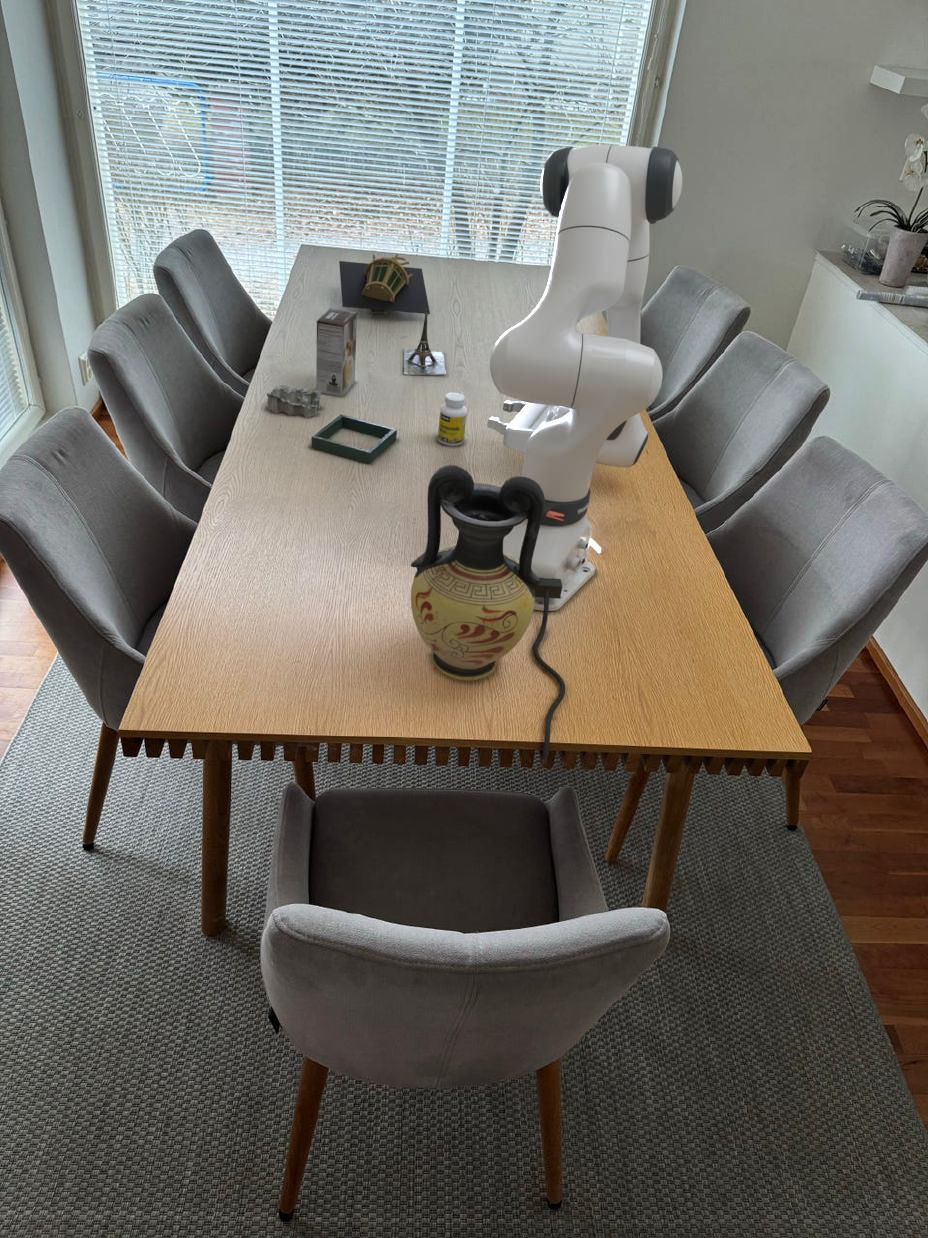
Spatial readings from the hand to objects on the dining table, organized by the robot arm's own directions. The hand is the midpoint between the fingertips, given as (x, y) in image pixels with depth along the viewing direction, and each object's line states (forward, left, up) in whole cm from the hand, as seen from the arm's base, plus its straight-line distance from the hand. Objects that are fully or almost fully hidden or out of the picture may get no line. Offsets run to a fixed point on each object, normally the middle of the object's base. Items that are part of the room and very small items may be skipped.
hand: (496, 413), depth 186 cm
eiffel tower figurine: (+36, +30, -9) cm, 48 cm away
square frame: (-12, +25, -9) cm, 29 cm away
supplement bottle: (0, +9, -9) cm, 13 cm away
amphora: (-66, -19, -9) cm, 69 cm away
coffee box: (+11, +41, -9) cm, 43 cm away
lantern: (+70, +57, -9) cm, 91 cm away
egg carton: (-4, +43, -9) cm, 44 cm away
